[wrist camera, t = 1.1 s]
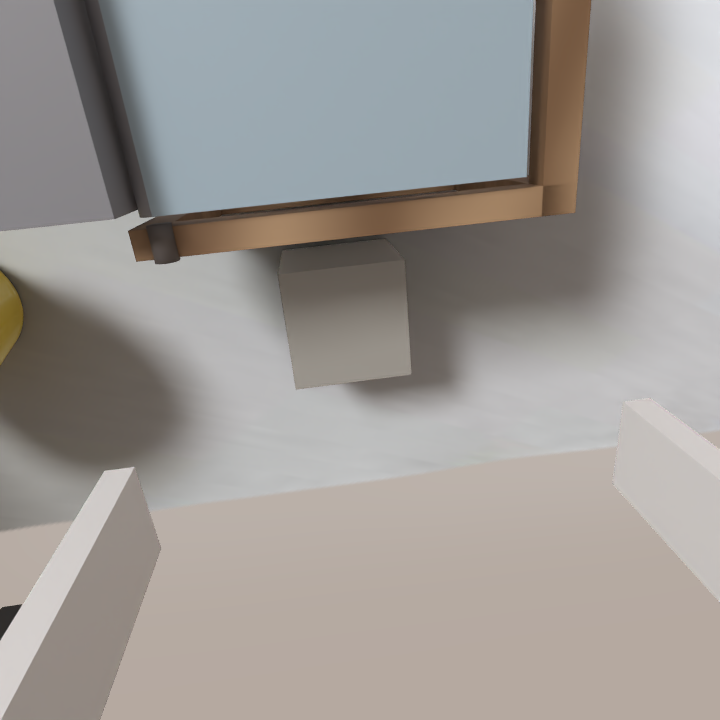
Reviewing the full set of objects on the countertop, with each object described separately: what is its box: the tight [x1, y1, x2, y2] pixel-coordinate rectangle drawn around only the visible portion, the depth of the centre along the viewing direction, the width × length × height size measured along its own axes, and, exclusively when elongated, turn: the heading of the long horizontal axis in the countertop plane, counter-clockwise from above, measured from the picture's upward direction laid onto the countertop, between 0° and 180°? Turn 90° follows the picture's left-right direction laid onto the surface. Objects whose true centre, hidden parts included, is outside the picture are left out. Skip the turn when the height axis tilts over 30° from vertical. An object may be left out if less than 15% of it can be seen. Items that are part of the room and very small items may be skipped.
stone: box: [278, 239, 411, 389], centre depth 28 cm, size 6×6×6 cm
